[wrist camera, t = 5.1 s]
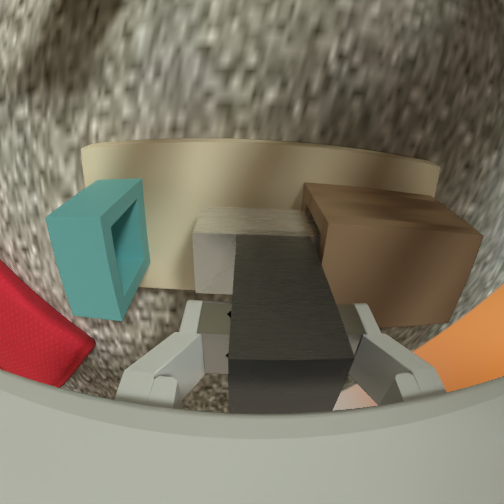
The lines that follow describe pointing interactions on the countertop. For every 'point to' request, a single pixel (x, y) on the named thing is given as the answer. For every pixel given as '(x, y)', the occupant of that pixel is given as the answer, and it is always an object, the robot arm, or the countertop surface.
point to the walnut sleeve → (392, 251)
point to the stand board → (235, 184)
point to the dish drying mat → (37, 335)
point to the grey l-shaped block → (273, 308)
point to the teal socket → (101, 247)
